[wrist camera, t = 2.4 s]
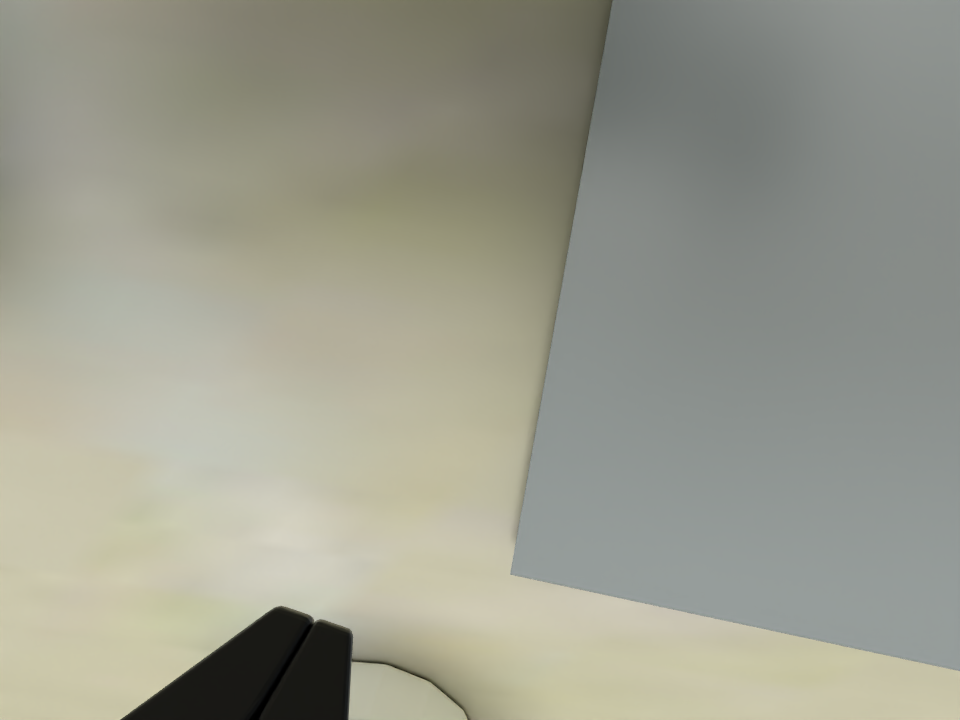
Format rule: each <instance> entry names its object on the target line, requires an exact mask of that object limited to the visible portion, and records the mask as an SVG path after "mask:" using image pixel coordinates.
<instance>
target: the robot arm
mask: <svg viewBox="0 0 960 720" xmlns="http://www.w3.org/2000/svg"><path fill="white" fill-rule="evenodd" d="M352 646H353V634H352V631H351V630H350V629H348V628H345V627H343V626H340V625H337V624H334V623H331V622H328V621H325V620H317V621H316V622H315V623H314V619H313V618H312V617H311V616H310V615H308V614H305V613H302V612H299V611H296V610H293V609H290V608H287V607H284V606H279V607H275V608H273V609H272V610H270V611H269V612H267V613H266V614H265V615H263V616H262V617H260V618H259V619H258V620H256V621H255V622H254V623H252V624H251V625H249V626H248V627H247V628H245V629H244V630H243V631H241V632H240V633H239V634H237V635H236V636H234V637H233V638H232V639H230V640H229V641H228V642H226V643H225V644H223V645H222V646H221V647H219V648H218V649H217V650H215V651H214V652H212V653H211V654H210V655H208V656H207V657H206V658H204V659H203V660H202V661H200V662H199V663H197V664H196V665H195V666H193V667H192V668H191V669H189V670H188V671H186V672H185V673H184V674H182V675H181V676H180V677H178V678H177V679H175V680H174V681H173V682H171V683H170V684H169V685H167V686H166V687H165V688H163V689H162V690H160V691H159V692H158V693H156V694H155V695H154V696H152V697H151V698H149V699H148V700H147V701H145V702H144V703H143V704H141V705H140V706H138V707H137V708H136V709H134V710H133V711H132V712H130V713H129V714H128V715H126V716H125V717H123V718H122V719H121V720H349V703H350V684H351V665H352Z"/></svg>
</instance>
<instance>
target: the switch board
mask: <svg viewBox="0 0 960 720" xmlns="http://www.w3.org/2000/svg"><path fill="white" fill-rule="evenodd" d="M510 575H515V576H520V577H524V578H529V579H534V580H538V581H543V582H548V583H552V584H557V585H562V586H566V587H571V588H576V589H580V590H585V591H590V592H594V593H599V594H603V595H608V596H613V597H617V598H622V599H627V600H631V601H636V602H641V603H645V604H650V605H655V606H659V607H664V608H669V609H673V610H678V611H683V612H687V613H692V614H697V615H701V616H706V617H711V618H715V619H720V620H725V621H729V622H734V623H739V624H743V625H748V626H753V627H757V628H762V629H767V630H771V631H776V632H781V633H785V634H790V635H795V636H799V637H804V638H808V639H813V640H818V641H822V642H827V643H832V644H836V645H841V646H846V647H850V648H855V649H860V650H864V651H869V652H874V653H878V654H883V655H888V656H892V657H897V658H902V659H906V660H911V661H916V662H920V663H925V664H930V665H934V666H939V667H944V668H948V669H953V670H958V671H960V0H613V1H612V6H611V12H610V18H609V23H608V29H607V34H606V40H605V46H604V51H603V57H602V63H601V68H600V74H599V79H598V85H597V91H596V96H595V102H594V107H593V113H592V119H591V124H590V130H589V135H588V141H587V147H586V152H585V158H584V164H583V169H582V175H581V180H580V186H579V192H578V197H577V203H576V208H575V214H574V220H573V225H572V231H571V237H570V242H569V248H568V253H567V259H566V265H565V270H564V276H563V281H562V287H561V293H560V298H559V304H558V309H557V315H556V321H555V326H554V332H553V338H552V343H551V349H550V354H549V360H548V366H547V371H546V377H545V382H544V388H543V394H542V399H541V405H540V410H539V416H538V422H537V427H536V433H535V439H534V444H533V450H532V455H531V461H530V467H529V472H528V478H527V483H526V489H525V495H524V500H523V506H522V511H521V517H520V523H519V528H518V534H517V540H516V545H515V551H514V556H513V562H512V568H511V573H510Z"/></svg>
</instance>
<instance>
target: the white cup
mask: <svg viewBox="0 0 960 720" xmlns="http://www.w3.org/2000/svg"><path fill="white" fill-rule="evenodd" d="M349 720H468V719H467V717H466V715H465V713H464V711H463V710H462V709H461V708H460V707H459V706H458V705H457V704H456V703H454V702H453V701H452V700H451V699H450V698H449V697H447V696H446V695H445V694H444V693H443V692H441V691H440V690H439V689H438V688H437V687H436V686H434V685H433V684H432V683H431V682H429V681H427V680H424V679H422V678H419V677H417V676H414V675H412V674H410V673H407V672H405V671H402V670H399V669H397V668H394V667H392V666H389V665H386V664H375V663H363V662H352V665H351V684H350V703H349Z"/></svg>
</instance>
